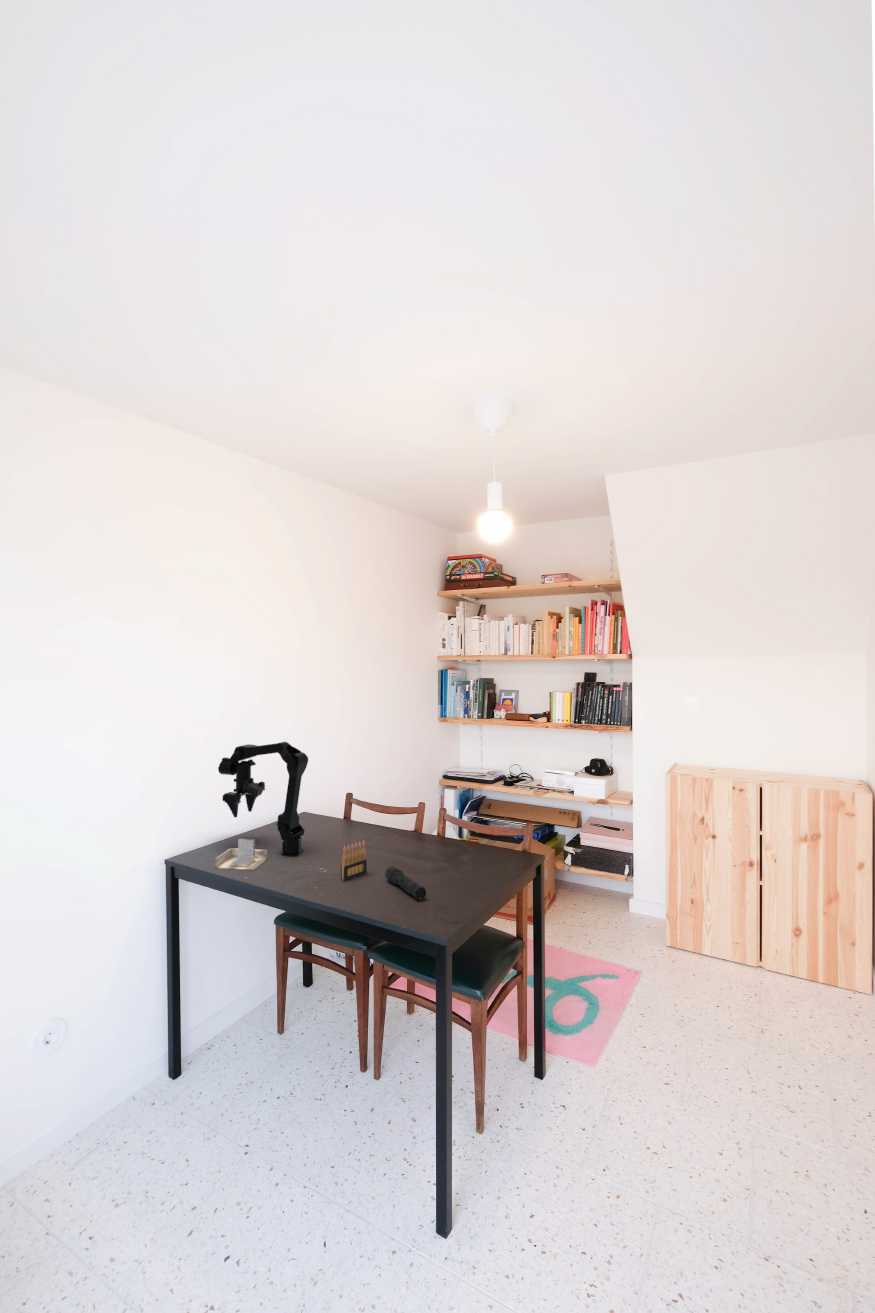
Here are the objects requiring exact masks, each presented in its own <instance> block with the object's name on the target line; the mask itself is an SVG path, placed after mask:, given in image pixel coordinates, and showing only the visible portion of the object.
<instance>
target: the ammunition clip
mask: <svg viewBox="0 0 875 1313" xmlns="http://www.w3.org/2000/svg"><path fill="white" fill-rule="evenodd" d="M366 856H367V850H366V842H365V840H364V839H363V840H362V842H361V841H359V842H358V843H357V842H355V844H354V843H352V844H351V846H350V844H348V845H347V847H346V845H344V846H343V850H342V858H341V859H342V860H341V861H342V862H341V865H340V881H342V882H346V880H347V881H350V880H352V879H355V878H358V877H361V876H362V875H363V876H364V875H366V874H367V872H368V871H367V867H368V866H367V865H368V864H367V861H368V860H367V858H366ZM360 875H361V876H360ZM357 876H358V877H357ZM354 877H355V878H354ZM351 878H352V879H351Z"/></svg>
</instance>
